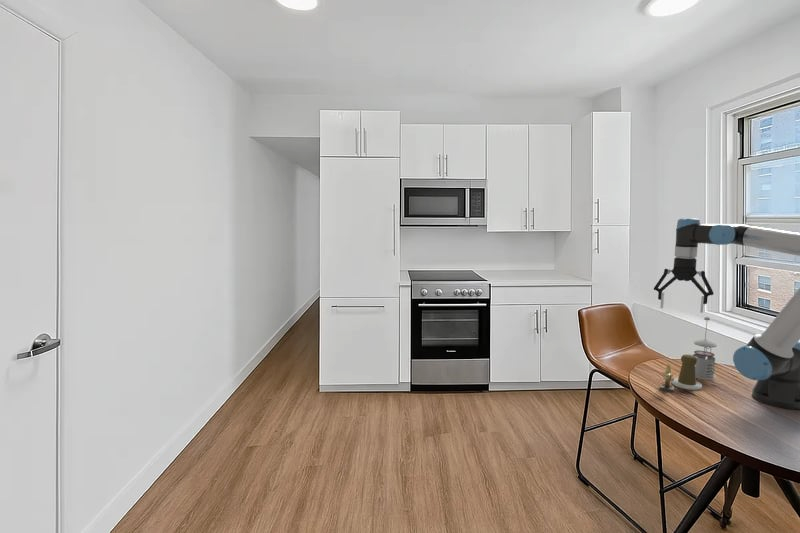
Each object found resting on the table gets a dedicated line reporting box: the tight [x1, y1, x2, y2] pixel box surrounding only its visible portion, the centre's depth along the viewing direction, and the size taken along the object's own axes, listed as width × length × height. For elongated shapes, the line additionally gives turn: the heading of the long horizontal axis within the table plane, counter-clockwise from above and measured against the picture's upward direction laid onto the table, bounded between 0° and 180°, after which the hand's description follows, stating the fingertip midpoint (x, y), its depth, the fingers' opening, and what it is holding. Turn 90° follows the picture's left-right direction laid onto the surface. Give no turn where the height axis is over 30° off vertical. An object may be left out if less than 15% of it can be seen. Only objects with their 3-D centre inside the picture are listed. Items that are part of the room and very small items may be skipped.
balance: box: [659, 363, 675, 393], centre depth 172 cm, size 4×12×11 cm, turn 145°
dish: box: [671, 377, 703, 391], centre depth 176 cm, size 10×10×1 cm
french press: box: [692, 316, 718, 381], centre depth 187 cm, size 10×12×25 cm
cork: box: [678, 354, 697, 385], centre depth 176 cm, size 6×6×11 cm
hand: (681, 310), depth 180 cm, fingers open, 13 cm apart
